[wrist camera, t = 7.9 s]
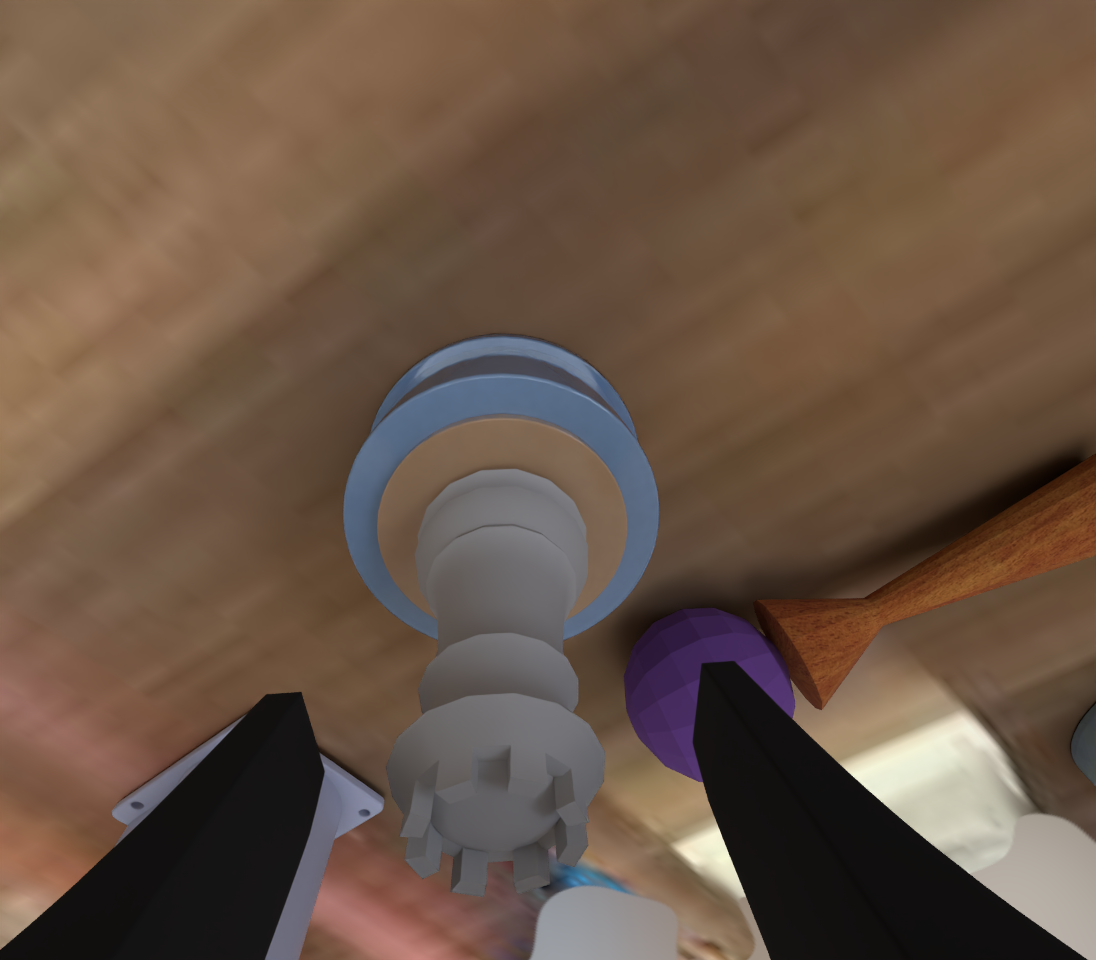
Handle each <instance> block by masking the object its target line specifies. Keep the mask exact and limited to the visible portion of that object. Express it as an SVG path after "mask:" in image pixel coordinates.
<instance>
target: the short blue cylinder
mask: <svg viewBox="0 0 1096 960" xmlns="http://www.w3.org/2000/svg"><path fill="white" fill-rule="evenodd" d="M500 469H519V470H522V471H525V472H528V473H531V474H534V475H537V476H540V477H543V478H545V479H548V480H550V481H551V482H553V483H554V484H555V485H556V486H557V487H558V488H560V489H561V490H562V491H563V492H564V493H565V494H567V495H568V496H569V497H570V498H571V499H572V500H573V501H574V502H575V504H576V506H577V509H578V511H579V513H580V515H581V517H582V519H583V521H584V524H585V526H586V542H587V544H588V576H587V580H586V583H585V585H584V587H583V589H582V591H581V593H580V595H579V597H578V599H577V601H576V603H575V605H574V607H573V609H572V610H571V611H570V613H569V615H568V617H567V619H566V621H565V622H564V634H563V640H566V639H568V638H571V637H573V636H575V635H578V634H579V633H581V632H583V631H585V630H587V629H589V628H590V627H592V626H594V625H595V624H597V623H598V622H599V621H601V620H602V619H604V618H605V617H607V616H608V615H609V614H610V613H611V612H612V611H613V610H615V609H616V608H617V607H618V606H619V605H620V604H621V603H622V602H623V601H624V600H625V598H626V597H627V596H628V595H629V594H630V593H631V592H632V590H633V589H634V587H635V586H636V584H637V583H638V581H639V580H640V578H641V577H642V575H643V573H644V571H645V569H646V567H647V565H648V563H649V561H650V558H651V555H652V552H653V549H654V547H655V543H656V538H657V533H658V528H659V510H660V508H659V498H658V490H657V486H656V482H655V478H654V474H653V471H652V469H651V466H650V464H649V462H648V459H647V457H646V455H645V453H644V451H643V450H642V448H641V447H640V445H639V443H638V439H637V435H636V431H635V427H634V424H633V422H632V419H631V417H630V415H629V412H628V410H627V408H626V406H625V405H624V403H623V401H622V400H621V398H620V396H619V395H618V393H617V392H616V390H615V389H614V388H613V387H612V386H611V384H610V383H609V382H608V381H607V379H606V378H605V377H604V376H603V375H602V374H601V373H600V372H599V371H598V370H597V369H595V368H594V367H593V366H592V365H591V364H590V363H588V362H587V361H585V360H584V359H583V358H581V357H580V356H578V355H577V354H575V353H573V352H571V351H569V350H567V349H565V348H563V347H562V346H559V345H557V344H554V343H551V342H548V341H545V340H543V339H538V338H534V337H529V336H524V335H513V334H492V335H481V336H476V337H471V338H466V339H463V340H460V341H457V342H454V343H451V344H448V345H446V346H444V347H442V348H440V349H438V350H436V351H434V352H432V353H430V354H429V355H427V356H426V357H424V358H423V359H422V360H420V361H419V362H417V363H416V364H415V365H413V366H412V367H411V368H410V369H409V370H408V371H407V372H406V373H405V374H404V375H403V376H402V377H401V378H400V379H399V380H398V382H397V383H396V384H395V385H394V387H393V388H392V389H391V390H390V392H389V393H388V394H387V396H386V397H385V399H384V401H383V403H382V404H381V406H380V408H379V409H378V412H377V414H376V417H375V419H374V422H373V424H372V428H371V432H370V435H369V436H368V437H367V439H366V440H365V442H364V444H363V445H362V447H361V449H360V451H359V452H358V454H357V456H356V457H355V460H354V462H353V465H352V467H351V470H350V473H349V475H348V479H347V484H346V488H345V492H344V503H343V521H344V532H345V536H346V541H347V545H348V549H349V552H350V554H351V557H352V559H353V562H354V564H355V567H356V569H357V571H358V572H359V574H360V576H361V578H362V579H363V581H364V583H365V584H366V585H367V587H368V588H369V589H370V591H371V592H372V593H373V595H374V596H375V597H376V598H377V599H378V600H379V601H380V602H381V603H382V604H383V605H384V606H385V607H386V608H387V609H388V610H389V611H390V612H391V613H392V614H394V615H395V616H396V617H397V618H399V619H400V620H401V621H403V622H404V623H406V624H407V625H409V626H411V627H412V628H414V629H415V630H417V631H419V632H421V633H423V634H425V635H427V636H429V637H432V638H434V639H436V640H438V623H437V618H436V617H435V615H434V614H433V612H432V611H431V609H430V608H429V604H428V602H427V601H426V599H425V598H424V596H423V595H422V593H421V592H420V587H419V582H418V575H417V567H416V560H415V552H416V549H417V546H418V533H419V530H420V527H421V524H422V521H423V518H424V515H425V512H426V509H427V507H428V506H429V505H430V504H431V503H432V502H433V501H434V500H435V498H436V497H437V496H438V495H439V494H440V493H441V492H442V491H443V490H444V489H445V488H446V487H447V486H448V485H449V484H451V483H453V482H455V481H457V480H460V479H462V478H464V477H467V476H469V475H471V474H474V473H476V472H478V471H481V470H500Z"/></svg>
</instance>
